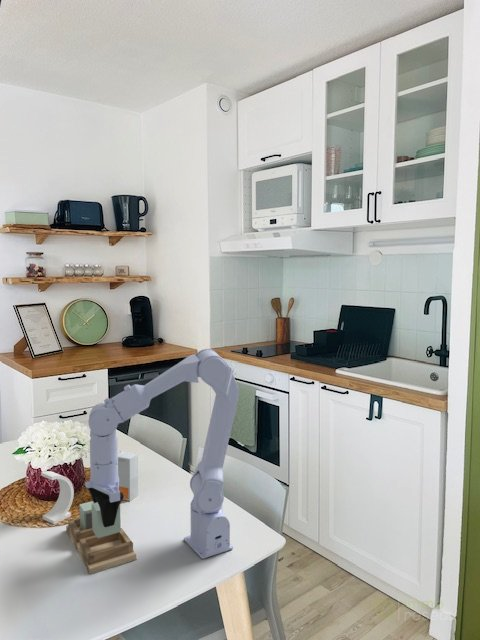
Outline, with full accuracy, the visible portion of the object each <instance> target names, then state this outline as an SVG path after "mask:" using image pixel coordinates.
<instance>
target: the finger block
mask: <svg viewBox="0 0 480 640" xmlns="http://www.w3.org/2000/svg"><path fill="white" fill-rule="evenodd" d="M121 528H122V527H121V505H119V508H118V511H117V515H116V519H115V523H114V525H112V526H109V527H104V525H103V522H102V516H101V511H100V507H99V505H98V502H96V503H92V530H93V532H94V533H95V535H96V536H97V538H101V537H104V536H108V535H111V534H115V533H118V532H121Z"/></svg>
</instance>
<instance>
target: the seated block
mask: <svg viewBox="0 0 480 640" xmlns="http://www.w3.org/2000/svg"><path fill="white" fill-rule="evenodd" d="M92 503H93V500H91V501H88V502H84V503H80V504H78V505H79V517H80V529H81V531H82V530H86V529H89V528H92Z"/></svg>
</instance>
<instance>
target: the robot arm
mask: <svg viewBox="0 0 480 640" xmlns="http://www.w3.org/2000/svg"><path fill="white" fill-rule="evenodd" d="M233 373H234V372H233V368H232V367H231V366H230V364H229V363H228V362H227V361H226V360H225V359H224V358H223V357H221V356H220V355H219V354H218V353H217V351H215V350H213V349H210V348H204V349H203V348H202V349H201V350H199V351H198V352H197V353H196V354H194V353H193V354H191V355H189V356H187V357H185V358H184V359H183V360H181V361H179V362H178V363H177V364H175V365H173V366H172V367H170V368H169V369H167V370H166V371H164V372H163V373H160V375H157V376H156V377H155V378H153V379H152V380H150V381H148V382H147V383H145V384H144V385H143V384H138V383H137V384H133V385H130V384H127V385H125V386H124V387H123V391H121V392H119V393H118V394H116V395H115V396H112V397H111V398H109V397H106V398H104V400H103V401H104V402H99V403H97V404H95V405H94V406H93V407H92V408H91V410H90V412H89V415H88V427H89V429H90V430H89V437H90V440H89V461H90V462H89V464H90V465H89V466H90V467H89V468H90V471H89V472H90V478H89V480H87V481H85V483H84V486H85V488H87V490H88V492H89V494H90V496H91V499H92V501H93V503H96V502H98V505H99V507H100V511H101V516H102V522H103V525H104V527H109V526H112V525H114V523H115V519H116V515H117V511H118V508H119V505H120V504H121V503H122V501H124V500H123V497H124V495H123V493H122V492H120V491H119V477H118V452H119V449H118V448H119V446H118V437H117V428H118V426H119V424H123V423H124V422H126V421H128V420H129V419H131V418H132V417H134V416H136V415H138V414H139V413H141V412H142V411H145V410H146V409H148V408H149V407H150V403H151V401H152V399H153V398H155V397H157V396H159V395H161V394H163V393H164V392H167V391H168V390H170V389H172V388H173V387H176V386H177V385H179V384H181V383H183V382H187V383H188V382H189V383H196V384H197V383H199V378H200V379H201V380H202V381H203V382H204V383H205V384H206V385H208V386H209V387H210V388H211V389H212V390H213V391H214V393H215V398H214V400H213V401H214V403H213V405H212V406H213V407H212V410H211V414H210V415H211V416H210V421H209V426H208V429H207V434H206V438H205V441H204V442H205V443H204V448H203V452H202V456H201V460H200V461H199V463H198V464H197V468H196V471H195V473H193V474H192V476H191V478H190V481H189V487H190V489H191V492H192V494H193V497H192V500H191V502H190V535H186V536H183V540H184V541H185V542H186V544H187V545H188V546H189V547H190V548H191V549H192V550H193V551H194V552H195V553H196V554H197V556H199V557H200V558H201V559H203V560H204V559H206V558H209V557H213V556H215V555H218V554H222V553H225V552H227V551H231V550H233V549H234V545H232V543H231V539H230V538H231V537H230V535H231V533H230V532H231V531H230V529H231V527H230V525H231V524H230V521H229V519H228V518H227V517H226V515H225V513H224V510H223V503H224V498H225V496H224V491H223V487H224V486H223V485H224V470H223V469H224V465H225V459H226V455H227V450H228V445H229V440H230V438H231V436H230V435H231V432H232V427H233V423H234V420H235V414H236V409H237V406H238V400H239V397H240V389H239V386H238V383H237V381H236V378H235V375H234V374H233ZM120 506H121V505H120Z"/></svg>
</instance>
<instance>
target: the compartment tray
mask: <svg viewBox="0 0 480 640" xmlns="http://www.w3.org/2000/svg"><path fill="white" fill-rule="evenodd" d="M65 528H66V533H67V535H68V537H69V538H70V540H71V542H72V544H73V546H74V548H75V549H76V551H77V553H78V555H79V556H80V559H81V560H82V562H83V564H84V566H85V568H86V570H87V571H88V573H89V575H91V574H95V573H98V572H101V571H105V570H108V569H110V568H114V567H116V566H120V565H121V566H122V565H123V564H126V563H130V562H133V561H136V560H137V553H136V552H135V550H134V542H133V541H132V540H131V538H130V537H129V535H127V533H126V531H125V530H124V529H123V528H122V527H121V532H118V533H115V534H111V535H108V536H104V537H101V538H97V536H96V535H95V533H94V532H93V530H92V528H89V529H86V530H82V531H81V529H80V516H77V517H73V518H70V519H68V525H66V526H65Z"/></svg>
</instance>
